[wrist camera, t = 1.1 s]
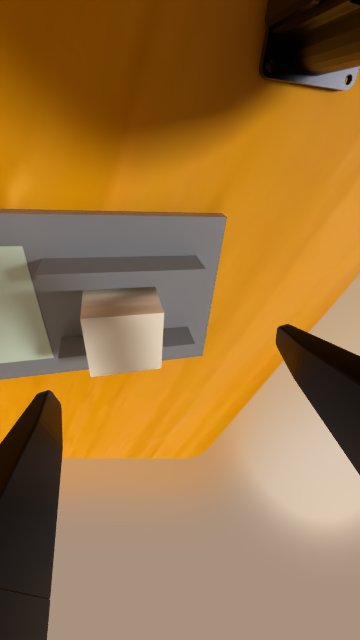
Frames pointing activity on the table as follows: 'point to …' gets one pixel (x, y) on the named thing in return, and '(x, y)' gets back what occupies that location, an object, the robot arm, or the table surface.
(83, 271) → the twin rail plate
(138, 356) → the block
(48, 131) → the table surface
